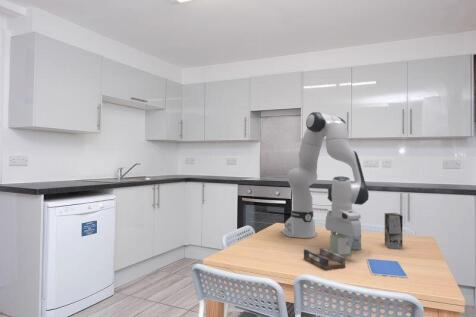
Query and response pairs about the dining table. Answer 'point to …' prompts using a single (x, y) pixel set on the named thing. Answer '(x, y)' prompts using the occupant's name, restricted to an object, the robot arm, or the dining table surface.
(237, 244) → the dining table surface
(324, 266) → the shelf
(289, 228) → the robot arm
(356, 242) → the light bulb box
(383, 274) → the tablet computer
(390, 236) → the coffee box
